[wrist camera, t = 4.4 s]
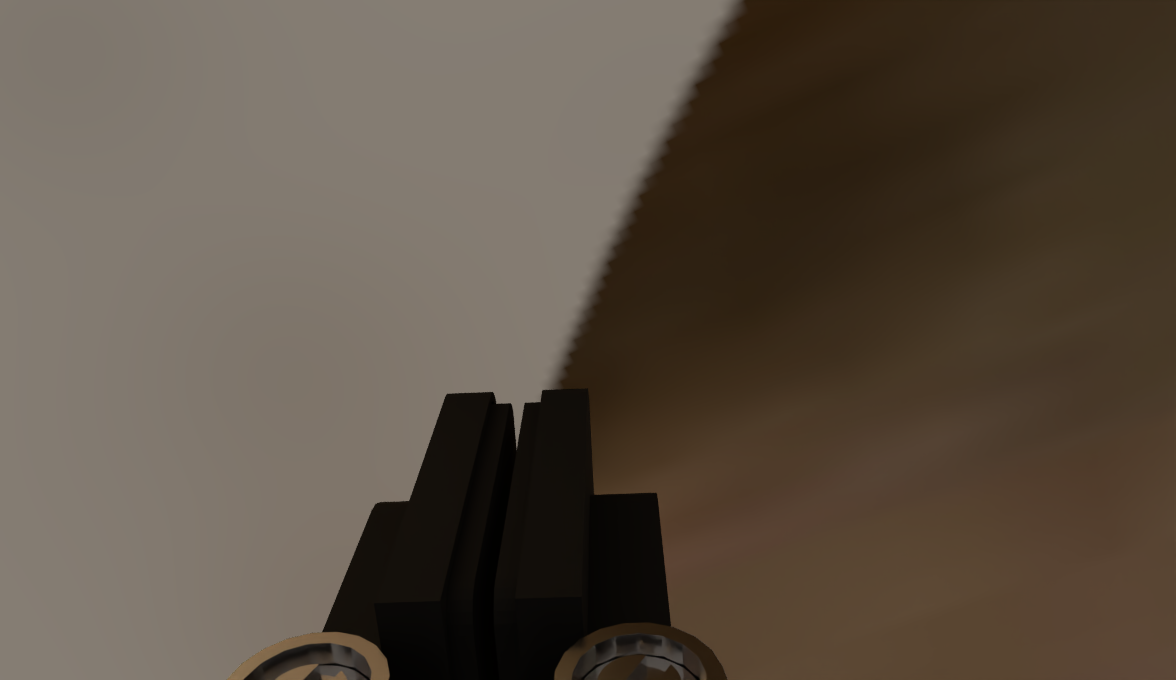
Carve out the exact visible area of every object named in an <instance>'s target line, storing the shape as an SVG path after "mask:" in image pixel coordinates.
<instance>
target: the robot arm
mask: <svg viewBox="0 0 1176 680" xmlns="http://www.w3.org/2000/svg"><path fill="white" fill-rule="evenodd" d="M227 680H728V679H727V677H726V674H725V672H724V669H723V667H722V665H721V663H720V662H719V660H718V659H717V657H716V656H715V654H714V652H713V651H712V649H710V648H709V647H708V646H706V645H705V644H704V643H703V642H701V641H700V640H699V639H698V638H696V637H695V636H693V635H691V634H688V633H686V632H684V631H681V630H679V629H677V628H674V627H671V622H670V612H669V603H668V593H667V584H666V574H665V565H664V555H663V545H662V536H661V526H660V517H659V507H658V498H657V493H635V494H606V495H594V488H593V468H592V449H591V429H590V410H589V394H588V389H562V390H543V391H542V396H541V402H535V403H525V405H524V410H523V416H522V422H521V428H520V434H519V440H518V446H517V450H516V439H515V427H514V416H513V409H512V405H511V403H508V404H496V400H495V395H494V393H493V392H485V393H484V392H483V393H458V394H457V393H455V394H447V395H446V397H445V399H444V403H443V405H442V408H441V411H440V414H439V417H438V420H437V423H436V425H435V428H434V431H433V434H432V437H431V440H430V443H429V446H428V448H427V451H426V454H425V458H424V460H423V463H422V466H421V469H420V472H419V475H418V477H417V481H416V483H415V486H414V489H413V492H412V495H411V498H410V500H409V501H402V502H380V503H377V504H375V506H374V508H373V510H372V511H371V514H370V516H369V519H368V521H367V523H366V526H365V528H364V531H363V534H362V536H361V538H360V541H359V543H358V546H357V548H356V551H355V553H354V556H353V558H352V560H351V563H350V565H349V568H348V570H347V573H346V575H345V577H344V580H343V582H342V585H341V587H340V590H339V593H338V595H337V597H336V600H335V602H334V605H333V607H332V609H331V612H330V614H329V617H328V620H327V622H326V624H325V627H324V629H323V631H322V632H321V633H310V634H306V635H301V636H297V637H293V638H289V639H286V640H283V641H281V642H279V643H276V644H274V645H272V646H269V647H267V648H265V649H263V650H261V651H260V652H258V653H257V654H255V655H254V656H252V657H251V658H249V659H248V660H246V661H245V662H243V663H242V664H241V665H240V666H239V667H238V668H237V669H236V670H235V671H234V672H233V673H232V674H231V676H230V677H229V678H228V679H227Z"/></svg>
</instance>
